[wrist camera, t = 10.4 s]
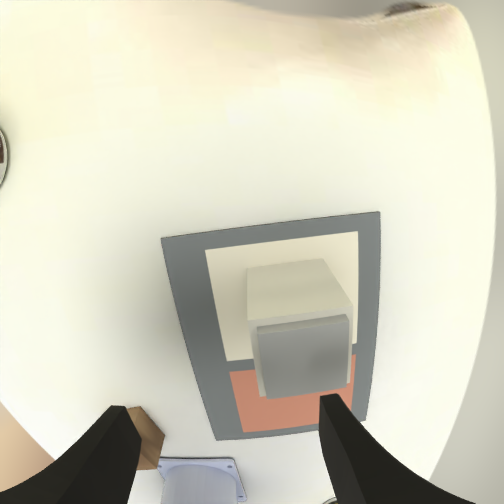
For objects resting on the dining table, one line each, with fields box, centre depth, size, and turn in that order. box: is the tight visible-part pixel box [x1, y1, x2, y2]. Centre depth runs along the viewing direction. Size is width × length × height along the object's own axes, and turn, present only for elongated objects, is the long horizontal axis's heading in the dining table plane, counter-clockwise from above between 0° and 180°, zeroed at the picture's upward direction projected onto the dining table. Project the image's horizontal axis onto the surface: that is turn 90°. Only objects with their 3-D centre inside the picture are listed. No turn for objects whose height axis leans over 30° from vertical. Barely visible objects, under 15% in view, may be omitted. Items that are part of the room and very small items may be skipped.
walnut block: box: [127, 406, 165, 470], centre depth 22 cm, size 4×4×4 cm
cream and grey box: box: [247, 258, 353, 399], centre depth 16 cm, size 4×4×7 cm
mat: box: [161, 212, 381, 441], centre depth 21 cm, size 18×13×1 cm
